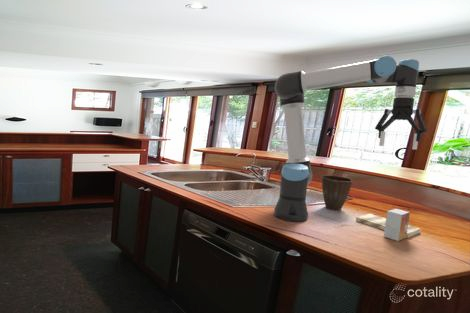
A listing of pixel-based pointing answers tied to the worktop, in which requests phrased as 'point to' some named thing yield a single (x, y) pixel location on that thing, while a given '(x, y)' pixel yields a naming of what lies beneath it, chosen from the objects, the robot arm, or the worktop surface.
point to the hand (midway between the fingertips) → (397, 147)
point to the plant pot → (335, 191)
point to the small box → (396, 224)
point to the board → (383, 223)
